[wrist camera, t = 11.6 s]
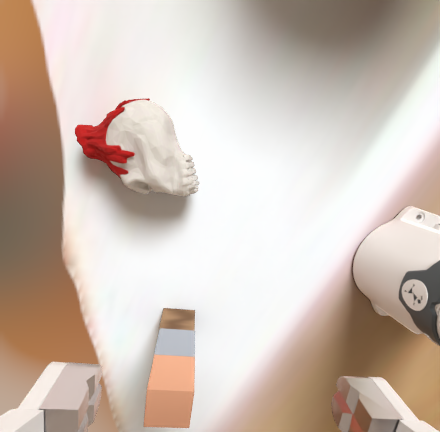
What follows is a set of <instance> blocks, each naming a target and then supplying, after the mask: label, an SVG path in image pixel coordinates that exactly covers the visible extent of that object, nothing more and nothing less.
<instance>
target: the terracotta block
mask: <svg viewBox="0 0 440 432" xmlns="http://www.w3.org/2000/svg"><path fill="white" fill-rule="evenodd" d="M194 373H195V357H190V356H172V355H154V359H153V364H152V368H151V373H150V378H149V382H148V387H147V395H146V406H145V417H144V427H172V428H189V425H190V418H191V411H192V404H193V397H194Z"/></svg>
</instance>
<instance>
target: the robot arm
mask: <svg viewBox="0 0 440 432" xmlns="http://www.w3.org/2000/svg"><path fill="white" fill-rule="evenodd" d="M417 215H418V217H417ZM416 217H417V218H416ZM353 275H354V280H355V282H356V285H357V286H358V288H359V290H360V291H361V292H362V293H363V294H364V295H365V296H367V297H368V298H369V299H370V301H371V303H372V306H373V308H374V310H375V312H377V313H378V314H379V315H381V316H389V315H390V316H391V317H392V318H394V319H395V320H397V321H398V322H399V323H401V324H402V325H404V326H405V327H406V328H408V329H409V330H411V331H412V332H414V333H416V334H420V333H421V334H425V335H426V336H427V337H428V338H429V339H430V340H431V341H433V342H434V343H436V344H437V345H439V346H440V216H439V215H436V214H433V213H430V212H427V211H425V210H422V209H419V208H416V207H413V206H408V207H406V208H405V209H403V210H402V211H401V212H400V213H399V214H398V215H397V216H396V217H395V218H394V219H393V220H391V221H390V222H388V223H386V224H383V225H381V226H380V227H378V228H376V229H375V230H374V231H372V232H371V233H370V234H369V235H368V236H367V237H366V238H365V239H364V241H363V242H362V243H361V245H360V246H359V248H358V250H357V252H356V255H355V258H354V263H353ZM101 376H102V366H101V365H95V364H82V363H62V362H51V363H50V364H49V365H48V366H47V367H46V368H45V370H44V371H43V373H42V374H41V375H40V377H39V378H38V380H37V381H36V383H35V384H34V385H33V387H32V388H31V390H30V391H29V392H28V394H27V396H26V397H25V398H24V400H23V401H22V402H21V404H20V405H19V407H18V408H17V409H11V410H9V411H7V412H6V413H4V414H3V415H1V416H0V432H88V426H89V425H90V424H91V423H93V422H94V419H95V416H96V414H97V411H98V407H99V403H100V398H101V385H100V384H99V381H100V378H101ZM336 386H337V388H338V390H339V391H338V392H336V393H335V394H334V395H333V399H332V403H331V404H332V414H333V417H334V420H335V422H336V424H337V426H338V428H339V429H340V430H341V431H342V432H439V431H437V430H436V429H434V428H433V427H432V426H430V425H429V424H427V423H426V422H424V421H419V420H418V419H417V418H416V416H415V415H414V414H413V413H412V412H411V410H410V409H409V408H408V407H407V406H406V404H405V403H404V402H403V401H402V399H401V398H400V397H399V396H398V395H397V393H396V392H395V391H394V390H393V388H392V387H391V386H390V385H389V384H388V382H387V381H386V380H385V379H383V378H382V377H355V376H340V377H339V378H338V381H337V384H336Z"/></svg>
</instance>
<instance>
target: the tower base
mask: <svg viewBox="0 0 440 432" xmlns="http://www.w3.org/2000/svg"><path fill="white" fill-rule="evenodd" d="M194 327H195V310H183V309H169V308H164V309H163V314H162V318H161V323H160V327H159V330H160V328H163V329H178V330H193V331H194Z"/></svg>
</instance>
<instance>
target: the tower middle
mask: <svg viewBox="0 0 440 432" xmlns="http://www.w3.org/2000/svg"><path fill="white" fill-rule="evenodd" d="M154 355H172V356H190V357H194V356H195V331H193V330H178V329H163V328H160V330H159V334H158V339H157V344H156V348H155V353H154Z"/></svg>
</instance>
